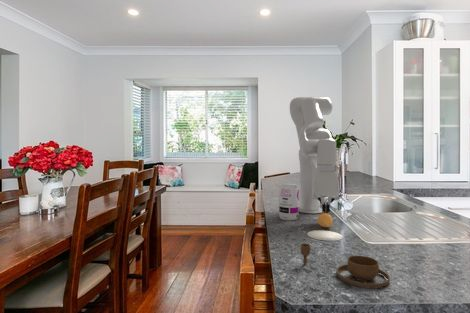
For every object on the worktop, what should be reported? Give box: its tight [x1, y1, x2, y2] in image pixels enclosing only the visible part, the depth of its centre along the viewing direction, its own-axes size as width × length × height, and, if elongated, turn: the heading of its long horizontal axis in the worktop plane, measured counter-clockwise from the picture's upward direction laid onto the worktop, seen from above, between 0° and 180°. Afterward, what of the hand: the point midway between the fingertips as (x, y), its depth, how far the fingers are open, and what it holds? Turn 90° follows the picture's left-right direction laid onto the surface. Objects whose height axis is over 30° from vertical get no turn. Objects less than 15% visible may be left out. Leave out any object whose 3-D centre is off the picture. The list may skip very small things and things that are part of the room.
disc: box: [307, 229, 344, 242], centre depth 112 cm, size 12×12×1 cm
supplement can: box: [278, 182, 300, 222], centre depth 137 cm, size 8×8×15 cm
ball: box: [317, 212, 333, 228], centre depth 124 cm, size 6×6×6 cm
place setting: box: [300, 243, 391, 289], centre depth 80 cm, size 18×20×6 cm
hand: (325, 213), depth 131 cm, fingers closed
